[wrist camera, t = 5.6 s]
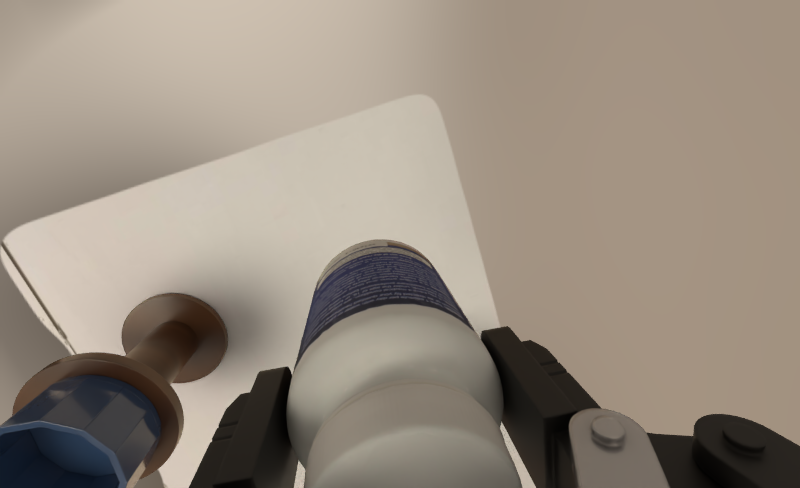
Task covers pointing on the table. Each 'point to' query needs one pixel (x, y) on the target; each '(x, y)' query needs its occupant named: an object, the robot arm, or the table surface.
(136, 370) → the stand
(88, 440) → the bowl
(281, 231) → the table surface
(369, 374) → the pill bottle
